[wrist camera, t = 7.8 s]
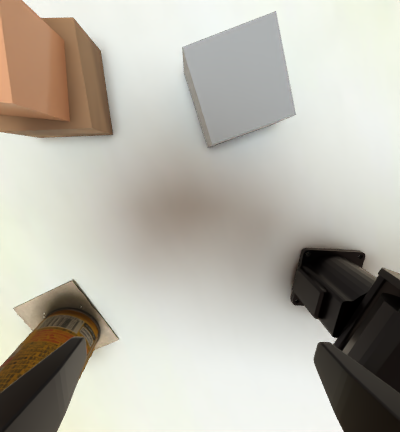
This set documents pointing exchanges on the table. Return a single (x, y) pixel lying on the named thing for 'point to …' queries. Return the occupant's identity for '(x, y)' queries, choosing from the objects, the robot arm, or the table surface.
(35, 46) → the terracotta cube
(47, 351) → the condiment
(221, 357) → the table surface
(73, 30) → the walnut block
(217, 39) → the slate block
